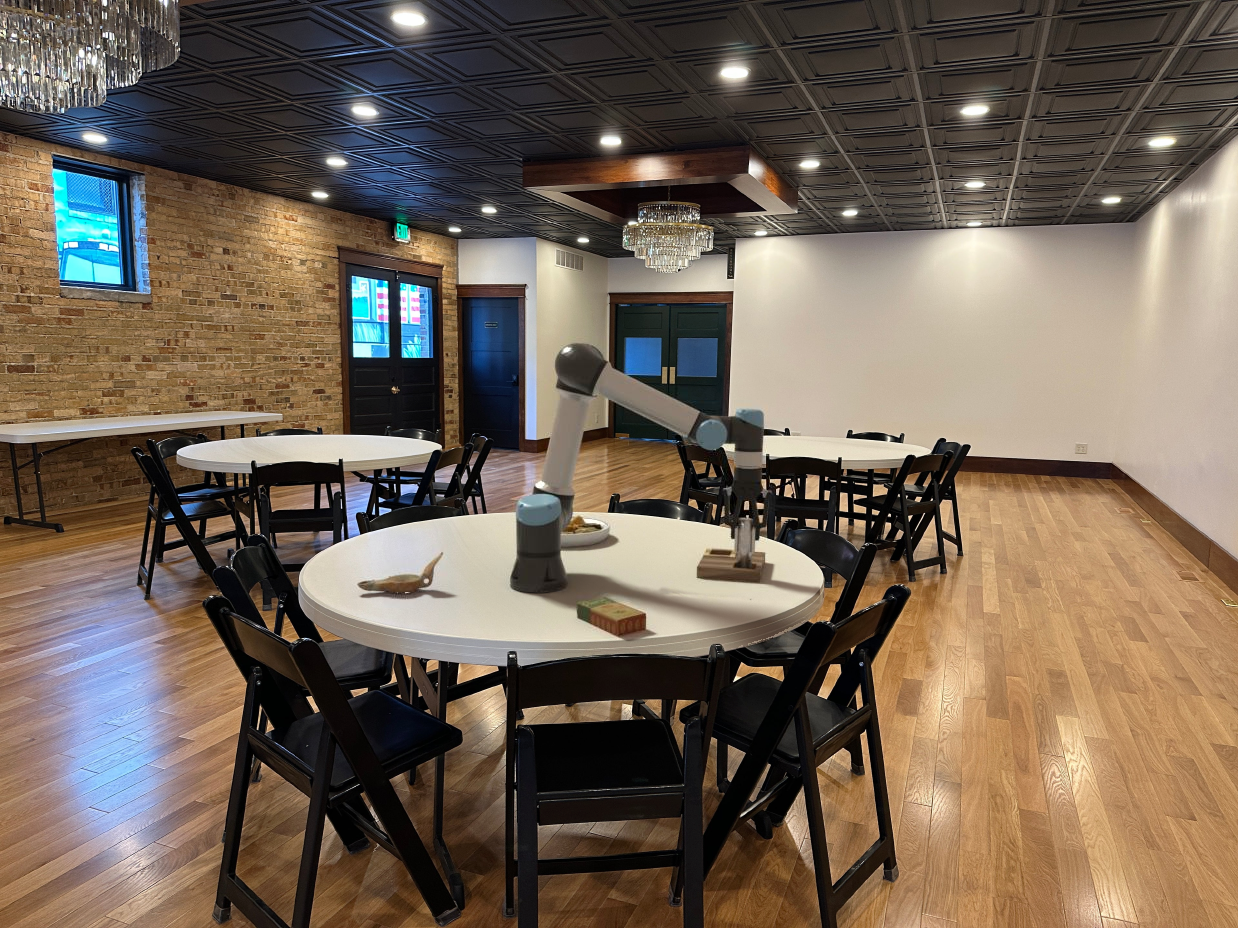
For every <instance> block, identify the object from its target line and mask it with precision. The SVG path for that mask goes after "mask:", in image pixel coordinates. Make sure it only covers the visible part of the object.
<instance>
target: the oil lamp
mask: <svg viewBox="0 0 1238 928" xmlns="http://www.w3.org/2000/svg"><path fill="white" fill-rule="evenodd" d="M443 555H444V552H443V551H441V552H440V553H439V555H437V556H436V557H435V558H434V559H432V561H430V562H429V563H428V564H427V565H426V566H425V568H424V570H423V571H422V573H421V574H420V575H417V574H412V573H411V574H410V573H407V574H406V573H405V574H397V575H391V576H388V577H387V578H386V577H385V578H384V579H377V580H376V579H372V580H363V581H362V580H361V581H360V582H358V583H356V584H357V586H358V587H359V588H360V589H361V590H362V591H366V592H383V591H389V592H388V593H393V592H398V593H405V592H412V591H415V592H416V591H417V590H419V589H423V588H424V589H427V588H428V587H430V586H431V585H432V583H433V581H434V573H435V572H434V570H435V566H436V565H438V562H439V561H440V560H441V558H442V557H443ZM425 580H428V582H426V583H425ZM398 593H397V594H398ZM412 593H413V592H412Z"/></svg>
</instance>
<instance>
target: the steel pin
mask: <svg viewBox="0 0 1238 928" xmlns="http://www.w3.org/2000/svg"><path fill="white" fill-rule="evenodd" d="M737 523H738V525H737V527H738V546H737V568H746V569H751V565H752V553H751V552H752V529H753V528H754V518H748V517H738V519H737Z"/></svg>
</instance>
